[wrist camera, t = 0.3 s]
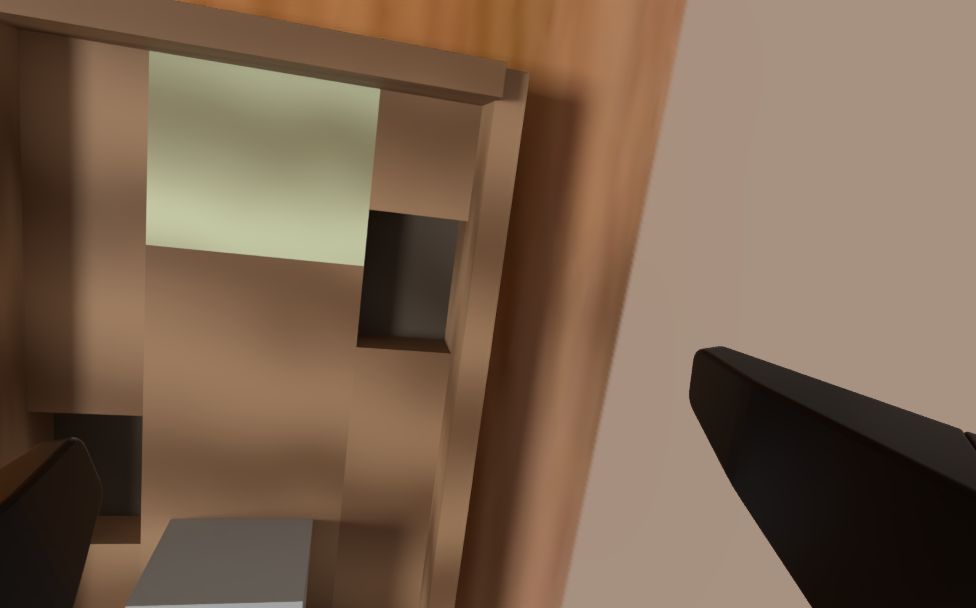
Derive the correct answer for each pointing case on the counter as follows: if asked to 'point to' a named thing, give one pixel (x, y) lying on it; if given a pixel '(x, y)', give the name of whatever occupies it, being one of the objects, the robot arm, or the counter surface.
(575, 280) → the counter surface
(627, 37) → the counter surface
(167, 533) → the block
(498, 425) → the counter surface
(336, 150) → the wooden tray
